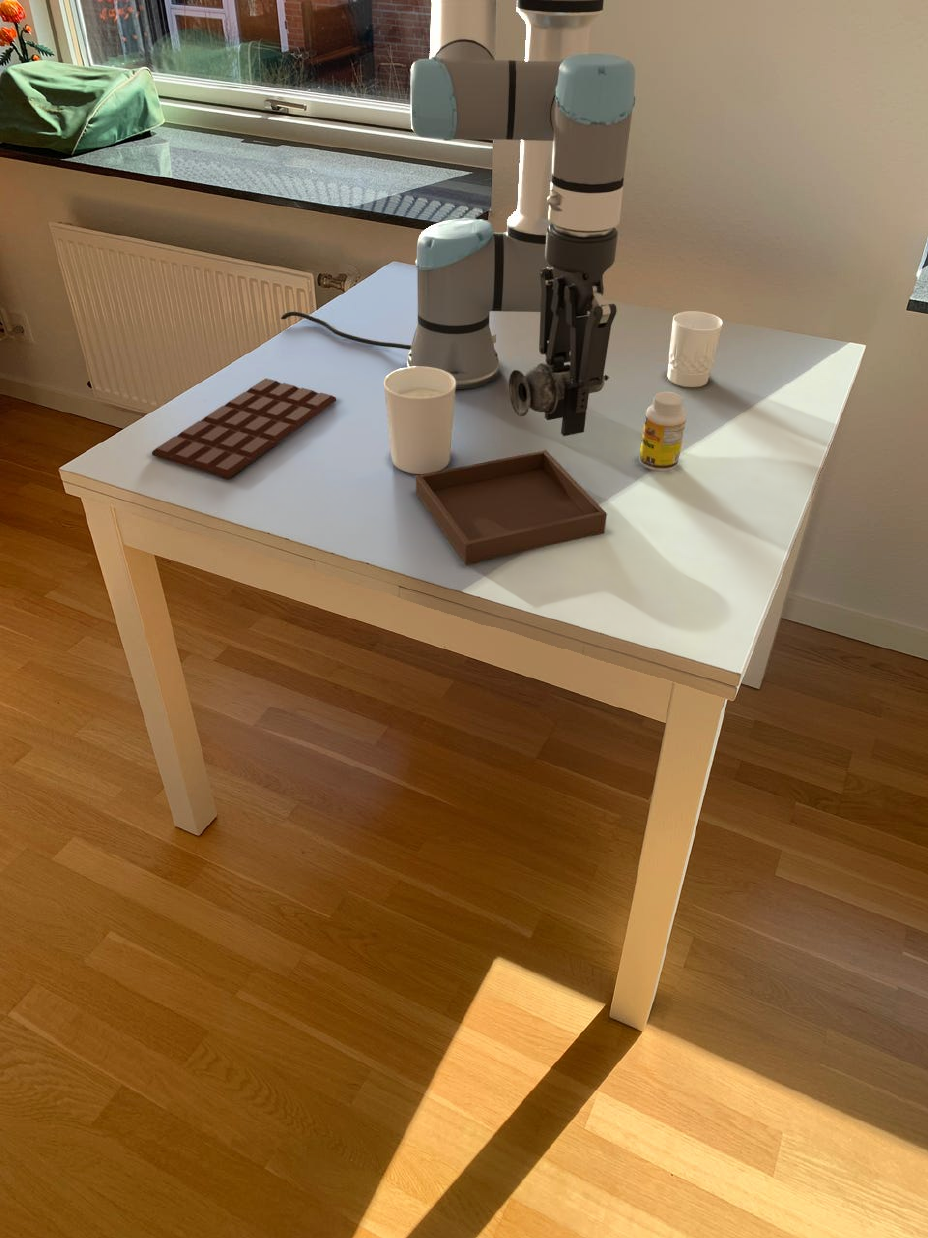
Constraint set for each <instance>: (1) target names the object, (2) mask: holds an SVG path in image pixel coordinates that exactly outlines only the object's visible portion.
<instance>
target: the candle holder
mask: <svg viewBox="0 0 928 1238" xmlns="http://www.w3.org/2000/svg"><path fill="white" fill-rule="evenodd" d="M383 389H384V397H385V407H386V419H387V427H388V438H389V439H388V440H389V446H390V455H391V456H390V457H391V461H392V464H393V466H395V467H396V468H397V469H398V470H400V471H401V472H404V473H408V474H413V475H421V474H426V473H431V472H436V471H441V470H444V469H446V467H447V466H448V465H449V464H450V461H451V453H452V441H453V429H454V413H455V399H456V390H457V389H456V380H455V378H454V377H453V376H452V375H451V374H450V373H448V372H446V371H444V370H441V369H437V368H432V367H408V368H407V367H403V368H399V369H396V370H394V371H392V372H390V373H389V374H388V375H387V376H386V377H385V378H384V380H383Z"/></svg>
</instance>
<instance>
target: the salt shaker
mask: <svg viewBox="0 0 928 1238" xmlns="http://www.w3.org/2000/svg"><path fill="white" fill-rule="evenodd" d="M508 379H509V380H508V394H509V395H508V396H509V400H510V403H511V406H512V408H513V410H514V412H515V414H517V416H519V417H525V416H526V415H527V414H528V412H529V410H530V409H531V410H532V411H534V412H537V413H544V414H545V413H546V414H551V413H552V412H554V410H555V409H556V406H557V402H558V401H559V400H561V399H564V395H565V383H564V382H567V381H570V370H569V371H567V372H561V373H553V371H552V369H551V368H550V367H549V366H548V365H547V363H546V362H540V363H538V365H537V366H534V367H533V368H530V369H529V370H528V371H527V372H526V373H525V375H524V374H523V373H522V371H521V370H519V369H514V370H513V371H511V373H510V375H509V378H508ZM609 379H610V376H609V375H607V374H604V375H603V381H602V385H599V386H594V387H590V388H589V394H593V393H599V392H600V391H602V390H603V388H604V387H605V382H607V381H608V380H609Z"/></svg>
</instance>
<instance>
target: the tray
mask: <svg viewBox="0 0 928 1238" xmlns="http://www.w3.org/2000/svg"><path fill="white" fill-rule="evenodd" d="M415 495H416V496H417V498H418V499H419V501H420V502H421V504H422V505H423V507H424V508H425V509H426V511H427V513H428V514H429V515H430V516H431V518H432V519H433V521H434V522H435V523H436V525H437V527H438V528H439V529H440V531H441V532H442V533H443V535H444V536H445V538H446V539H447V541H448V542H449V543H450V545H451V547H452V548H453V549H454V550H455V552H456V554H458V556H459V558H460V559H461V560H462V562H463V563H464V564H465V565H470V564H471V565H472V564H475V563H480V562H483V561H488V560H493V559H497V558H502V557H505V556H509V555H514V554H519V553H522V552H528V551H532V550H535V549H541V548H545V547H549V546H553V545H557V544H562V543H567V542H570V541H575V540H580V539H583V538H587V537H592V536H596V535H601V534H605V533H606V532H605V530H606V523H607V515H608V514H607V512H606V511H605V510H604V509H603V508H602V507H601V506H600V504H598V502H597V501H596V500H595V499H594V498H592V496H591V495H590V494H589V493H588V492H587V491H586V490H585V489H584V488H583V487H582V486H581V485H580V484H579V483H578V482H577V481H576V480H575V478H574V477H573V476H571V474H570V473H569V472H568V471H567V470H566V469H565V468H564V467H563V466H562V464H561V463H559V462H558V461H557V460H556V459H555V458H554V457H553V455H551V454H550V452H549V451H547V449H545V450H539V451H535V452H534V451H533V452H529V453H524V454H518V455H514V456H513V455H512V456H509V457H508V456H507V457H503V458H498V459H493V460H488V461H483V462H478V463H473V464H468V465H461V466H458V467H453V468H447V469H442V470H440V471H436V472H431V473H426V474H415Z"/></svg>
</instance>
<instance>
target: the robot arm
mask: <svg viewBox="0 0 928 1238" xmlns="http://www.w3.org/2000/svg"><path fill="white" fill-rule="evenodd" d="M604 1H605V0H516V12H517V13H518V14H519V16H521V18H522V20H524V22H525V24H526V38H525V39H526V40H525V57H524V58H525V59H524V60H514V59H511V60H510V59H509V60H508V59H507V60H503V59H498V53H497V51H498V50H497V28H496V27H497V26H496V25H497V24H496V1H495V0H431V17H430V18H431V19H430V51H429V52H430V53H429V58H419V59H417V60H415V61H413V63H412V65H411V68H410V121H411V122H410V123H411V129H412V131H413V133H414V134H415V135H417V136H418V137H420V138H428V139H429V138H430V139H439V140H440V139H441V140H443V141H453V140H497V141H498V140H499V141H501V140H502V141H503V140H506V141H521V142H520V159H519V160H520V163H519V180H518V181H519V182H518V201H517V209H516V211H514V212H513V214H511V216H509V217H508V219H507V222H506V232H495V229H494V227H493V224H491V222H490V221H488V220H485V219H482V218H481V219H477V218H473V217H466V218H462V217H461V218H456V219H455V218H454V219H449V220H444V221H441V222H438V223H434V224H433V225H431V226H429V227H428V228H426V229H424V230H423V231H422V232H421V234H420V235H419V237H418V239H417V245H416V259H415V268H416V269H417V270H416V271H417V273H416V275H417V276H416V279H417V281H416V282H417V285H416V287H417V288H416V289H417V290H416V291H417V293H416V295H417V296H416V297H417V301H416V302H417V305H416V307H417V308H416V311H417V312H416V313H417V324H416V329H415V331H414V335H413V337H412V341H411V344H406V343H398V342H387V341H380V340H373V339H368V338H363V337H360V336H356V335H353V334H349V333H346V332H343V331H341V330H339V329H338V328H335V327H334V326H332V325H331V324H330V323H329V322H327V321H325V320H323V319H320V318H317V317H315V316H312V315H309V314H307V313H304V312H301V311H300V312H299V311H288V312H286V313H284V314H282V316H281V317H280V319H281V320H286V319H288V318H290V317H300V318H302V319H305V320H308V321H311V322H313V323H316V324H319V325H321V326H323V327H325V328H326V329H328V330H329V331H330V332H332V333H333V334H334V335H337V336H339V337H341V338H344V339H347V340H351V341H354V342H358V343H362V344H367V345H372V346H376V347H377V346H378V347H384V348H395V349H402V350H408V353H407V357H406V358H407V359H406V368H408V367H432V368H437V369H441V370H444V371H446V372H448V373H450V374H451V375H452V376H453V377H454V378H455V380H456V389H455V390H466V389H467V390H468V389H473V388H477V387H480V386H481V387H482V386H483V385H486V384H488V383H490V382H491V381H493V380H494V379H495V378H496V377H497V376H498V374H499V371H500V360H499V355H498V352H497V350H496V349H495V343H497V334H492V331H491V327H490V316H491V315H490V313H491V312H503V313H504V312H508V313H509V312H510V313H511V312H515V313H518V312H519V313H540V316H539V317H540V318H539V319H540V320H539V343H538V351H539V353H540V355H545V363H546V364H547V365H548V366H549V367H550V368H551V369H552V371H553V373H561V372H567V371H569V370H570V381H567V382H564V383H565V395H564V399H561V400H559V401H558V402H557V406H556V409H555V410H554V412H552V413H551V414H546V413H544V419H545V420H546V421H552V420H557V419H561V428H560V429H561V430H560V434H561V435H562V436H563V437H568V436H572V435H573V436H574V435H578V434H582V433H585V425H586V416H587V409H588V403H589V395H590V393H589V388H590V387H594V386H599V385H602V381H603V375H604V376H605V368H606V361H607V357H608V356H607V355H608V348H609V342H610V336H611V329H612V324H613V322H614V319H615V317H616V315H617V312H618V311H617V310H618V309H617V305H616V304H615V303H607V301H606V300H605V298H604V292H605V288H604V274H605V273H606V271H607V270H608V269H610V268H611V267H612V266H613V265H614V263H615V260H616V253H617V251H616V250H617V245H618V236H619V232H618V229H617V228H616V227H618V225H619V224H621V223H620V222H621V214H622V203H623V193H624V187H625V185H624V180H625V171H626V163H627V162H626V161H627V155H628V146H629V139H630V132H631V124H632V116H633V110H634V108H635V105H636V96H635V88H636V87H635V86H636V74H637V73H636V68H635V65H634V64H633V63H632V62H631V61H630V60H629V59H627V58H622V57H621V56H618V55H613V54H606V53H605V54H603V53H589V45H590V33H591V27H592V25H593V23H594V22H595V21H596V20H597V19H598V18H599V17H600V16H601V15H602V14H603V11H604ZM567 363H569V364H567Z"/></svg>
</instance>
